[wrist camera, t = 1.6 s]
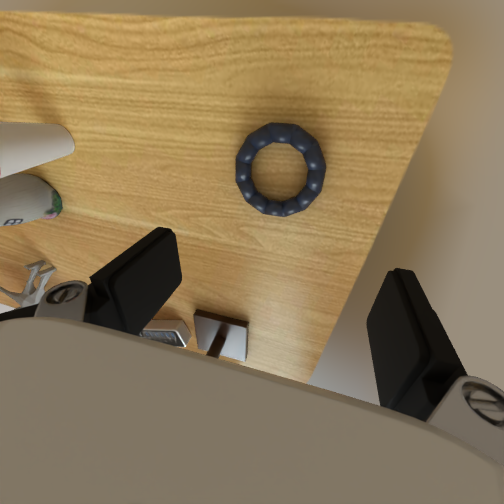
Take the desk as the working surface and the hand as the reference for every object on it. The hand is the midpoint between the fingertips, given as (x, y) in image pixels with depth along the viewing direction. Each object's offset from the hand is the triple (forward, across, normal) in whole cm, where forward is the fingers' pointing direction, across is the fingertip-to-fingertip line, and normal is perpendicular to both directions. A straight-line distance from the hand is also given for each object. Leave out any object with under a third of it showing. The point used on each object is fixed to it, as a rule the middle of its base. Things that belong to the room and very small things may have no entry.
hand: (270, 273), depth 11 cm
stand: (+16, +9, +28) cm, 33 cm away
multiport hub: (+16, +21, +31) cm, 41 cm away
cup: (+16, +29, -1) cm, 34 cm away
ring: (+15, +2, 0) cm, 15 cm away
